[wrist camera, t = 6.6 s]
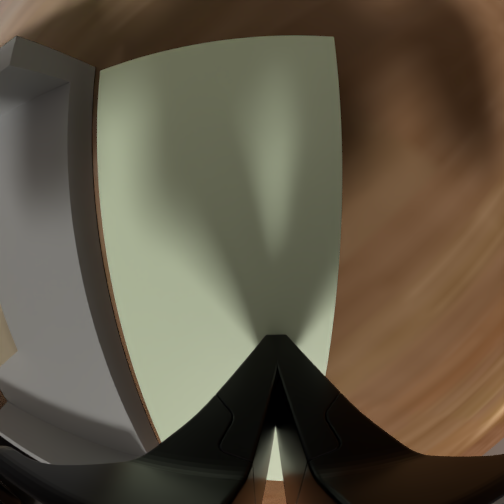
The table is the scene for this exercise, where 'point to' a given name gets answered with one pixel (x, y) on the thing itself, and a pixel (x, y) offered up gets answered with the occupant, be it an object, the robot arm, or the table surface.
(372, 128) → the table surface
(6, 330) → the beech block
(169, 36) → the table surface
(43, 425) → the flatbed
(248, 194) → the panel
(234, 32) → the table surface
